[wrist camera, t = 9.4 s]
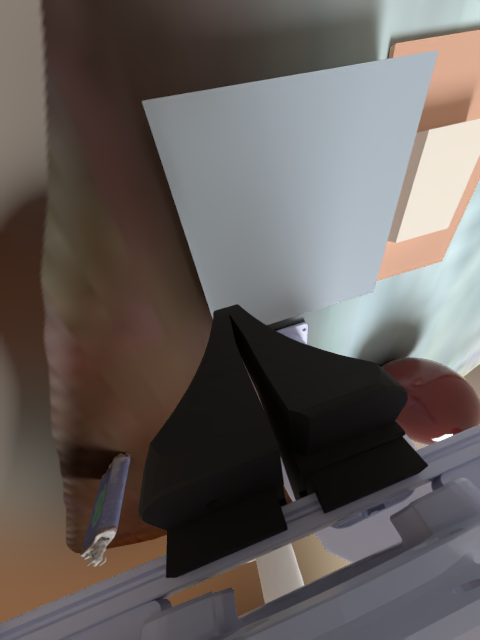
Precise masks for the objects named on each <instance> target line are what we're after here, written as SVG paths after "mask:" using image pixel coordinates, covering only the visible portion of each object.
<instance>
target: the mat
mask: <svg viewBox="0 0 480 640" xmlns="http://www.w3.org/2000/svg"><path fill="white" fill-rule="evenodd" d="M437 50H439V51H438V55H437V59H436V63H435V66H434V70H433V74H432V77H431V81H430V85H429V88H428V92H427V96H426V100H425V103H424V107H423V111H422V114H421V118H420V122H419V125H418V129H417V133H418V132H422V131H426V130H430V129H435V128H440V127H444V126H449V125H453V124H458V123H462V122H467V121H471V120H476V119H480V30H475V31H469V32H462V33H456V34H450V35H444V36H438V37H432V38H425V39H419V40H413V41H407V42H401V43H395V44H394V45H392V46H391V47H390V52H389V57H388V59H390V58H396V57H402V56H407V55H413V54H419V53H425V52H431V51H437ZM479 179H480V156H479V158H478V160H477V162H476V165H475V167H474V169H473V172H472V174H471V176H470V179H469V181H468V183H467V185H466V188H465V190H464V192H463V195H462V197H461V199H460V202H459V204H458V206H457V209H456V211H455V213H454V215H453V218H452V220H451V222H450V225H449V227H448V228H447V229H443V230H440V231H436V232H433V233H429V234H426V235H422V236H419V237H415V238H412V239H408V240H405V241H401V242H398V243H394V242H390V241H387V244H386V248H385V251H384V255H383V259H382V262H381V266H380V270H379V274H378V277H377V281H378V280H381V279H385V278H388V277H391V276H394V275H398V274H401V273H404V272H408V271H411V270H414V269H418V268H421V267H424V266H427V265H431V264H434V263H437V262H441V261H442V260H443V257H444V255H445V253H446V251H447V249H448V247H449V244H450V242H451V240H452V238H453V236H454V234H455V231H456V229H457V227H458V225H459V223H460V221H461V218H462V216H463V214H464V212H465V210H466V207H467V205H468V203H469V201H470V199H471V197H472V194H473V192H474V190H475V188H476V186H477V184H478V181H479Z"/></svg>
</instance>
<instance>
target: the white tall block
mask: <svg viewBox="0 0 480 640" xmlns="http://www.w3.org/2000/svg"><path fill="white" fill-rule="evenodd" d="M254 560H256V561H257V566H258V572H259V576H260V581H261V586H262V591H263V596H264V601H265V604H266V603H268V602H270V601H272V600H274V599H277V598H279V597H281V596H283V595H285V594H287V593H289V592H291V591H293V590H295V589H297V588H300V587H302V586H304V583H303V580H302V576H301V573H300V570H299V567H298V564H297V560H296V557H295V554H294V551H293V548H292V545H291V543H290V544H288V545H286V546H284V547H281V548H279V549H277V550H274V551H272V552H270V553H268V554H265V555H263V556H261V557H258V558H256V559H254ZM254 560H252V561H254ZM252 561H249V562H252ZM249 562H247V563H249Z"/></svg>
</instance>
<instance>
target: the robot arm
mask: <svg viewBox="0 0 480 640" xmlns="http://www.w3.org/2000/svg"><path fill="white" fill-rule="evenodd" d="M307 330H308V325H307V323H306V322H302V323H299V324H296V325H293V326H289V327H286V328H283V329H280V330H277V331H275V330H274V329H272V328H270V327H268V326H267V325H265V324H264V323H262V322H261V321H259V320H258V319H256V318H255V317H253V316H252V315H251V314H249V313H248V312H247V311H246V310H244V309H243V308H242V307H241V306H240V305H238V304H236V305H232V306H229V307H226V308H222V309H219V310H215V311H214V312H213V323H212V329H211V333H210V338H209V341H208V344H207V347H206V351H205V353H204V356H203V359H202V361H201V363H200V366H199V368H198V370H197V372H196V374H195V376H194V378H193V380H192V382H191V384H190V386H189V387H188V389H187V391H186V392H185V394H184V396H183V397H182V399H181V400H180V402H179V404H178V405H177V407H176V409H175V410H174V412H173V413H172V415H171V416H170V417H169V419H168V420H167V421H166V423H165V424H164V426H163V427H162V428H161V430H160V431H159V432H158V434H157V435H156V437H155V438H154V439H153V441H152V442H151V443H150V446H149V450H148V455H147V459H146V463H145V468H144V472H143V480H142V488H141V496H140V503H139V517H140V518H141V519H142V520H143V521H145V522H146V523H148V524H151V525H153V526H156V527H159V528H162V529H165V530H167V554H166V555H164V556H161V557H159V558H156V559H154V560H152V561H149V562H147V563H145V564H142V565H140V566H137V567H135V568H132V569H130V570H127V571H125V572H123V573H120V574H118V575H115V576H113V577H111V578H108V579H106V580H104V581H101V582H99V583H96V584H94V585H91V586H89V587H87V588H84V589H82V590H79V591H77V592H75V593H72V594H70V595H67V596H65V597H62V598H60V599H58V600H55V601H53V602H50V603H48V604H46V605H43V606H41V607H38V608H36V609H34V610H31V611H29V612H26V613H24V614H22V615H20V616H17V617H14V618H12V619H10V620H7V621H5V622H2V623H0V640H480V424H479V425H477V426H474V427H472V428H469V429H467V430H465V431H462V432H460V433H457V434H455V435H453V436H450V437H448V438H445V439H443V440H441V441H438V442H436V443H433V444H431V445H429V446H426V447H424V448H421V449H419V450H417V449H416V447H415V446H414V444H413V443H412V441H411V440H410V439H409V437H408V436H407V435H406V433H405V431H404V430H403V429H402V428H401V426H400V425H399V424H398V423H397V422H396V421H395V420H396V419H397V417H398V416H399V414H400V412H401V411H402V409H403V408H404V406H405V404H406V402H407V400H408V393H407V390H406V389H405V388H404V387H403V386H402V385H401V384H400V383H399V382H398V381H397V380H396V379H394V378H393V377H392V376H391V375H390V374H389V373H388V372H387V371H385V370H384V369H383V368H382V367H380V366H379V365H378V364H377V363H374V362H369V361H365V360H360V359H355V358H351V357H346V356H342V355H338V354H335V353H331V352H328V351H324V350H321V349H318V348H315V347H312V346H309V345H307ZM242 360H243V361H242ZM243 362H244V363H243ZM244 364H245V366H246V368H247V370H248V373H249V375H250V377H251V379H252V381H253V383H254V385H255V387H256V390H257V392H258V395H259V397H260V400H261V403H262V405H261V403H260V401H259V398H258V396H257V394H256V392H255V389H254V387H253V385H252V382H251V380H250V378H249V375H248V373H247V370H246V368H245V366H244ZM262 406H263V407H262ZM263 408H264V410H263ZM264 411H265V412H264ZM283 485H284V486H285V488H286V490H287V492H288V494H289V496H290V498H291V499H292V501H293V502H291V503H289V504H287V503H286V500H285V495H284V488H283ZM313 533H315V534H316V536H317V538H318V539H319V540H321V542H322V544H323V546H324V548H325V550H327V551H328V552H330V553H332V554H334V555H336V556H338V557H340V558H342V559H345V560H347V561H349V562H351V563H352V564H349V565H347V566H345V567H343V568H341V569H338V570H336V571H334V572H332V573H330V574H327V575H325V576H323V577H321V578H319V579H317V580H314V581H312V582H310V583H308V584H306V585H304V586H302V587H300V588H297V589H295V590H293V591H291V592H289V593H287V594H285V595H283V596H281V597H279V598H277V599H274V600H272V601H270V602H268V603H266V604H264V605H262V606H260V607H258V608H256V609H254V610H252V611H250V612H247V613H245V614H243V615H242V616H239V617H238V615H237V612H236V605H235V597H234V590H232V588H228V589H225V590H222V591H219V592H215V593H212V592H209V593H206V594H204V595H201V596H199V597H196V598H194V599H192V600H189V601H187V602H184V603H182V604H179V605H177V606H174V607H172V605H171V603H170V601H169V600H167V599H165V598H167V597H170V596H171V595H174V594H176V593H179V592H181V591H183V590H185V589H188V588H190V587H192V586H195V585H197V584H199V583H201V582H204V581H206V580H208V579H210V578H213V577H215V576H217V575H220V574H222V573H224V572H226V571H229V570H231V569H233V568H236V567H238V566H240V565H242V564H245V563H247V562H249V561H252V560H254V559H256V558H258V557H261V556H263V555H265V554H268V553H270V552H272V551H274V550H277V549H279V548H281V547H284V546H286V545H288V544H290V543H293V542H295V541H297V540H300V539H302V538H304V537H306V536H309V535H311V534H313Z"/></svg>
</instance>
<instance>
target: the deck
mask: <svg viewBox="0 0 480 640" xmlns="http://www.w3.org/2000/svg"><path fill="white" fill-rule="evenodd" d="M438 51H439V50H437V51H431V52H425V53H419V54H413V55H407V56H402V57H396V58H390V59H384V60H378V61H372V62H366V63H361V64H355V65H349V66H343V67H337V68H331V69H325V70H320V71H314V72H308V73H302V74H296V75H290V76H284V77H279V78H273V79H267V80H261V81H255V82H249V83H243V84H238V85H232V86H226V87H220V88H214V89H208V90H202V91H197V92H191V93H185V94H179V95H173V96H167V97H161V98H155V99H150V100H144V101H142V104H143V107H144V110H145V113H146V116H147V119H148V122H149V125H150V128H151V131H152V134H153V137H154V141H155V144H156V147H157V150H158V153H159V156H160V159H161V162H162V165H163V168H164V171H165V174H166V177H167V180H168V183H169V187H170V190H171V193H172V196H173V199H174V202H175V205H176V208H177V211H178V214H179V217H180V220H181V223H182V226H183V229H184V233H185V236H186V239H187V242H188V245H189V248H190V251H191V254H192V257H193V260H194V263H195V266H196V269H197V272H198V275H199V279H200V282H201V285H202V288H203V291H204V294H205V297H206V300H207V303H208V306H209V309H210V312H211V315H212V318H213V312H214V311H215V310H219V309H222V308H226V307H229V306H232V305H236V304H238V305H240V306H241V307H242V308H243V309H244V310H246V311H247V312H248V313H249V314H251V315H252V316H253V317H255V318H256V319H258V320H259V321H261V322H262V323H264V324H265V325H269V324H272V323H275V322H279V321H282V320H285V319H288V318H291V317H295V316H298V315H301V314H304V313H308V312H311V311H314V310H317V309H321V308H324V307H327V306H330V305H333V304H337V303H340V302H343V301H346V300H350V299H353V298H356V297H359V296H363V295H366V294H369V293H372V292H374V288H375V285H376V281H377V277H378V274H379V270H380V266H381V262H382V259H383V255H384V251H385V248H386V244H387V240H388V237H389V233H390V229H391V225H392V222H393V218H394V214H395V211H396V207H397V203H398V200H399V196H400V192H401V188H402V185H403V181H404V177H405V174H406V170H407V166H408V163H409V159H410V155H411V151H412V148H413V144H414V140H415V137H416V133H417V129H418V125H419V122H420V118H421V114H422V111H423V107H424V103H425V100H426V96H427V92H428V88H429V85H430V81H431V77H432V74H433V70H434V66H435V63H436V59H437V55H438Z"/></svg>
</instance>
